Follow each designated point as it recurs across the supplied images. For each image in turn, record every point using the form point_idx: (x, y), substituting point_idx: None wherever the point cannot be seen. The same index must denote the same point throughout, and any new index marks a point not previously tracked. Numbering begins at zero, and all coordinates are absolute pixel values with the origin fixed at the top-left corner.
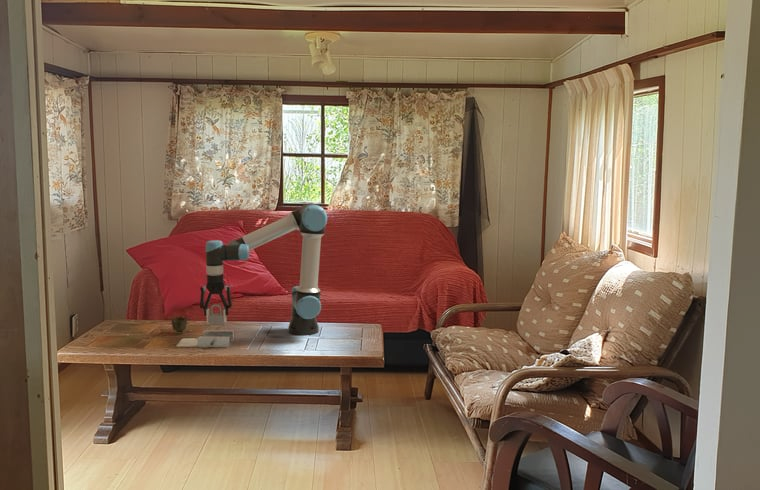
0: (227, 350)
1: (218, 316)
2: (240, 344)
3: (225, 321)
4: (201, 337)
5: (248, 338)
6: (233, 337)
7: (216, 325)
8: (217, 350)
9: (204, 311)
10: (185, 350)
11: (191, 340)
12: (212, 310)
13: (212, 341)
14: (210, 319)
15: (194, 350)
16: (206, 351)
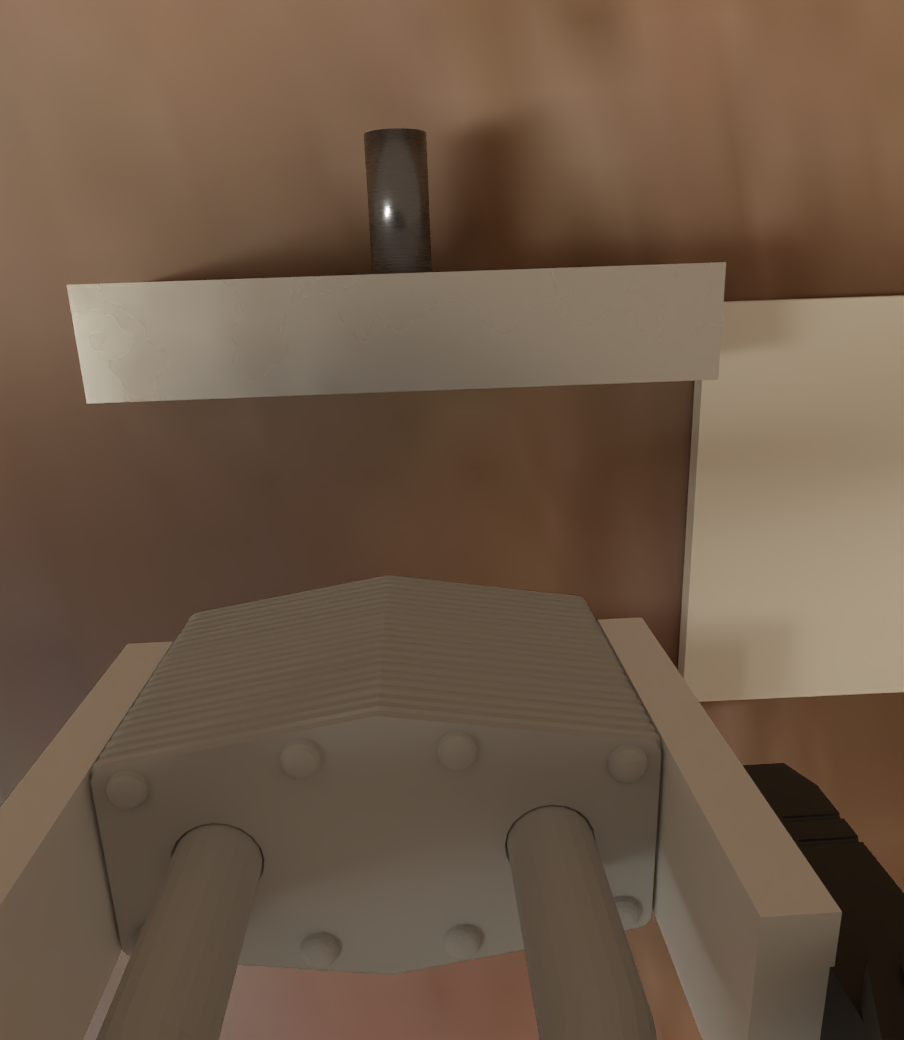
0: (102, 95)
1: (277, 717)
2: (8, 481)
3: (112, 672)
4: (651, 300)
5: (6, 794)
6: None
7: (373, 579)
8: (283, 88)
9: (876, 879)
10: (847, 64)
11: (823, 590)
12: (542, 955)
13: (400, 214)
14: (555, 664)
15: (690, 70)
16: (464, 9)
